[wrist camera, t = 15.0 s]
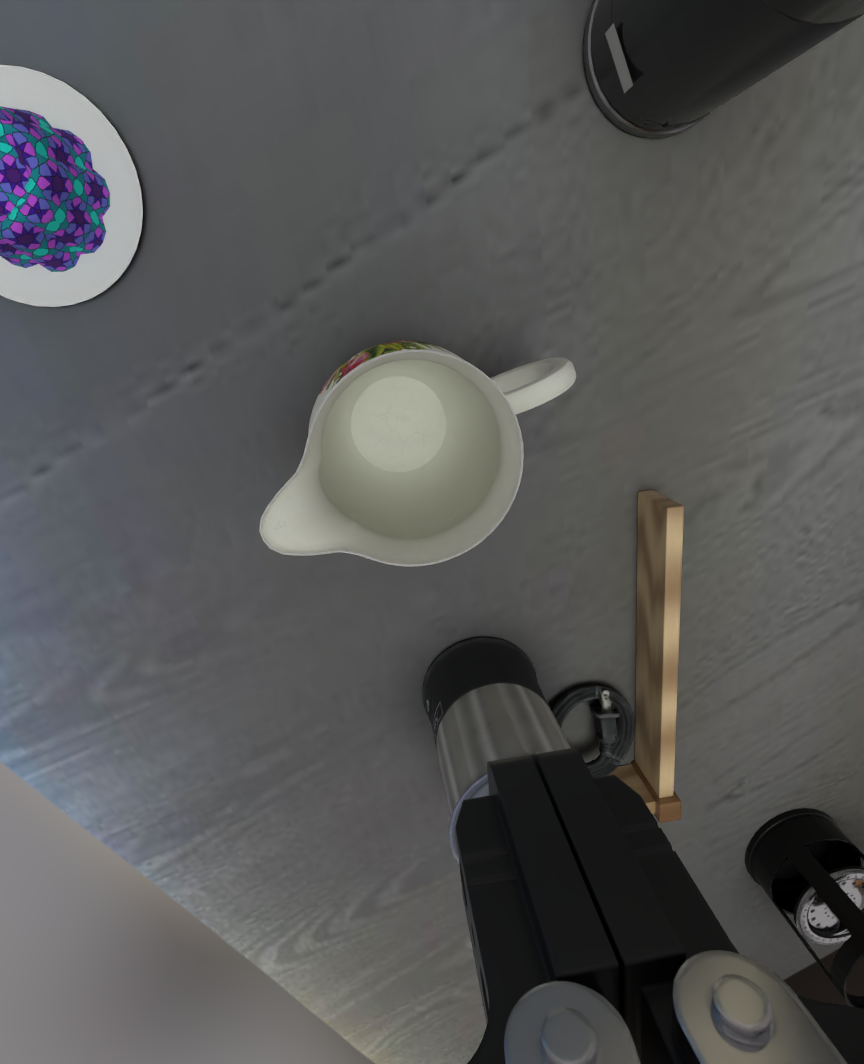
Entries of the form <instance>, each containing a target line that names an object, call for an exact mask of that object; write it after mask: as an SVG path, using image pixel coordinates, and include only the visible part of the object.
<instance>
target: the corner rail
mask: <svg viewBox="0 0 864 1064" xmlns="http://www.w3.org/2000/svg"><path fill="white" fill-rule="evenodd" d="M683 515H684V506H683V505H681V504H679V503H677V502H675V501H673V500H671V499H669V498H667V497H665V496H663V495H662V494H660V493H658V492H656V491H654V490H649V491H641V492H638V528H637V621H636V715H635V761H632V764H629V765H624V766H618V767H617V768H616V769H615V770H614V771H613V772H611V774H609V775H615V776H617V777H618V778H619V779H620V780H622V781H623V782H624V783H625V784H627V785H628V786H629V787H631V788H632V789H633V790H634V791H636V792H637V793H638V794H639V795H641V797H642V799H643V800H644V802H645V803H646V805H647V807H648V808H649V810H650V812H651V813H652V814H654V815H655V816H656V818H657V820H658V821H659V823H662V822H668V821H673V820H679V819H681V800H680V799H679V797H678V796H677V795H676V793H675V792H674V764H675V736H676V708H677V681H678V653H679V626H680V598H681V570H682V543H683ZM609 775H608V776H609Z"/></svg>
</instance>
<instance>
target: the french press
mask: <svg viewBox="0 0 864 1064" xmlns="http://www.w3.org/2000/svg"><path fill="white" fill-rule="evenodd" d="M825 840H828V845H827V849H826V852H825V854H824V856H823V857H822V859H821V860H820V861H819V862H818V861H817V860H816V859H815V858H814V857H813V855H812V854H811V853H810V852H809V851H808V850H807V849H806V847H805V846H807V845H810V844H812V843H816V842H819V841H825ZM788 858H789V860H790V861H791V862H792V863H793V864H794V866H795V867H796V868H797V869H798V870H799V872H800V873H801V874H802V875H800V876H797V877H794V878H790V879H777V878H774V877H775V875H776V873H777V871H778V869H779V868H780V867H781V865H782V864H783V863H784V862H785V861H786V860H787V859H788ZM863 860H864V854H863V853H862V852H861V851H860V850H859V849H858V848H857V847H856V846H855V845H854V844H853V843H852V842H851V841H850V840H849V839H848V838H847V837H846V836H845V835H844V834H843V833H842V832H841V831H840V829H839V827H838V825H837V824H836V822H835V821H834V820H833V819H832V818H831V817H830V816H828V815H826V814H825V813H823V812H821V811H817V810H813V809H799V810H794V811H790V812H787V813H784V814H782V815H779V816H777V817H776V818H774V819H772V820H771V821H769V822H768V823H767V824H765V825H764V826H763V827H762V828H761V829H760V830H759V831H758V832H757V833H756V834H755V836H754V837H753V839H752V840H751V842H750V844H749V847H748V849H747V853H746V866H747V870H748V872H749V874H750V875H751V877H752V878H753V880H754V881H755V882H757V883H758V884H759V885H760V886H761V887H762V888H763V889H764V891H765V892H766V893H767V895H768V896H769V898H770V899H771V900H772V902H773V903H774V904H775V906H776V907H777V908H778V910H779V911H780V912H781V914H782V915H783V917H784V918H785V919H786V921H787V922H788V923H789V925H790V926H791V927H792V929H793V930H794V931H795V933H796V934H797V936H798V937H799V938H800V940H801V941H802V942H803V944H804V945H805V946H806V948H807V949H808V951H809V952H810V953H811V955H812V956H813V957H814V959H815V960H816V961H817V963H818V964H819V965H820V967H821V968H822V969H823V971H824V972H825V974H826V975H827V976H828V978H829V979H830V980H831V982H832V983H833V984H834V986H835V987H836V989H837V990H838V991H839V993H840V994H841V995H842V997H843V998H844V999H845V1001H846V1002H847V1004H848V1005H849V1006H850V1007H857V1008H863V1009H864V996H854V995H850V994H848V993H846V983H847V979H848V976H849V974H850V972H851V970H852V969H853V967H854V966H855V965H856V963H857V962H858V960H860V959H861V957H863V955H864V868H863ZM786 913H788V914H792V915H794V921H795V924H796V926H797V928H798V930H797V928H796V927H795V926H794V924H793V923H792V922H791V920H790V919H789V918H788V916H787V915H786ZM804 938H805V939H806V940H807V941H809V942H811V943H814V944H819V945H833V944H839V943H843V942H845V943H844V944H843V945H842V946H841V948H840V949H839V950H838V952H837V954H836V956H835V958H834V960H833V963H832V967H831V974H830V973H829V971H828V970H827V969H826V967H825V966H824V965H823V963H822V962H821V961H820V959H819V958H818V957H817V955H816V954H815V953H814V951H813V950H812V948H811V947H810V946H809V944H808V943H807V942H806V940H805V939H804Z"/></svg>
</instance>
